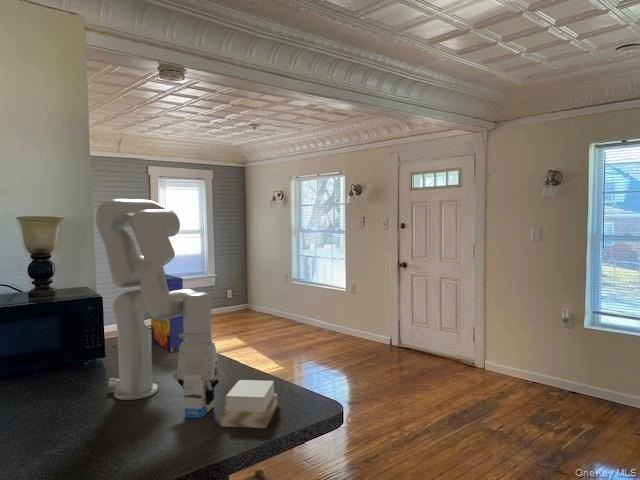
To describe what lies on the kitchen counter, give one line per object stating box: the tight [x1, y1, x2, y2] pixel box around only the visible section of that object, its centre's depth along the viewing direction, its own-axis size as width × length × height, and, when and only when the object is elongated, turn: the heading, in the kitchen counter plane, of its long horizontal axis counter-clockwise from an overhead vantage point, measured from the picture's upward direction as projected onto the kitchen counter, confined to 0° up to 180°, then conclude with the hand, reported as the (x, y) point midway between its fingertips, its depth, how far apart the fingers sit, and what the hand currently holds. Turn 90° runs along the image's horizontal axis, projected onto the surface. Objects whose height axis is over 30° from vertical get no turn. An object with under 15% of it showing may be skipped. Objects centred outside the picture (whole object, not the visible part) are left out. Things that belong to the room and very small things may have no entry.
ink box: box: [183, 373, 215, 419], centre depth 127 cm, size 9×5×12 cm, turn 168°
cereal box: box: [150, 273, 184, 354], centre depth 194 cm, size 22×6×30 cm, turn 39°
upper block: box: [225, 379, 275, 412], centre depth 124 cm, size 10×12×4 cm
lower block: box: [219, 392, 279, 429], centre depth 125 cm, size 12×14×4 cm
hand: (199, 401), depth 127 cm, fingers closed on ink box, 5 cm apart
